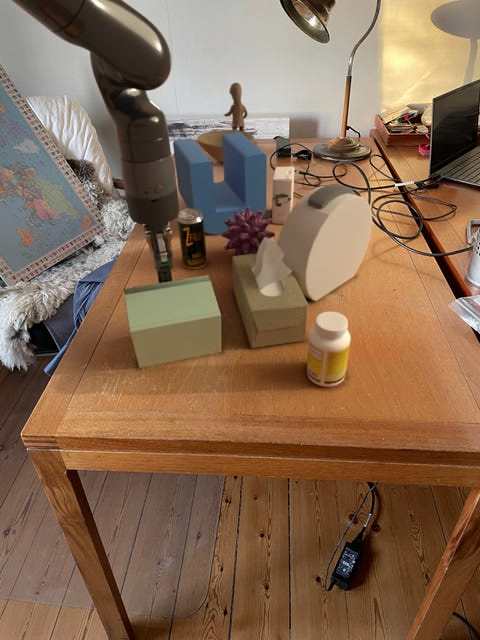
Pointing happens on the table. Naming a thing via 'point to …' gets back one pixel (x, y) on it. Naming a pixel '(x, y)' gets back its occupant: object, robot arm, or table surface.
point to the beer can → (192, 238)
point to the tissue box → (269, 297)
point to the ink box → (282, 194)
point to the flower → (246, 232)
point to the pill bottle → (328, 349)
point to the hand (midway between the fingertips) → (165, 284)
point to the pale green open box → (173, 320)
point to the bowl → (217, 142)
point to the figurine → (237, 108)
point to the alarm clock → (326, 238)
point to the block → (233, 192)
